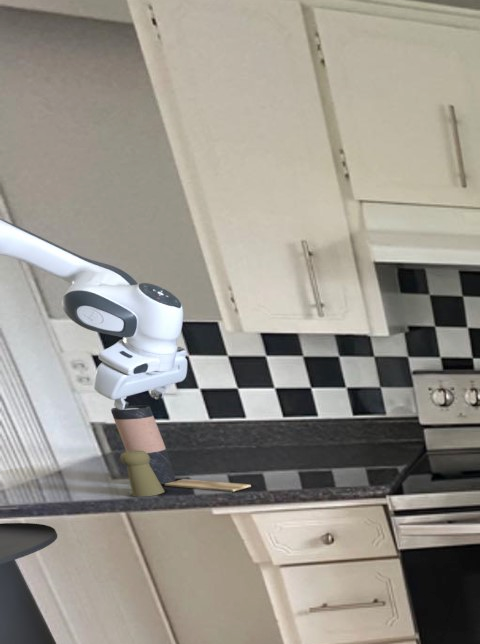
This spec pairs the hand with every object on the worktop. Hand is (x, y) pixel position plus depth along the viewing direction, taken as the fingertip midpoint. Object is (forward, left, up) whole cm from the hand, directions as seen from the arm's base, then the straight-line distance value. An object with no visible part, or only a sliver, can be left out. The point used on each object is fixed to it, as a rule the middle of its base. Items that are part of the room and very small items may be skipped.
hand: (139, 402), depth 155 cm
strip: (+10, +2, -24) cm, 26 cm away
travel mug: (+10, +18, -24) cm, 32 cm away
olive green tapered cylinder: (+1, +9, -24) cm, 26 cm away
